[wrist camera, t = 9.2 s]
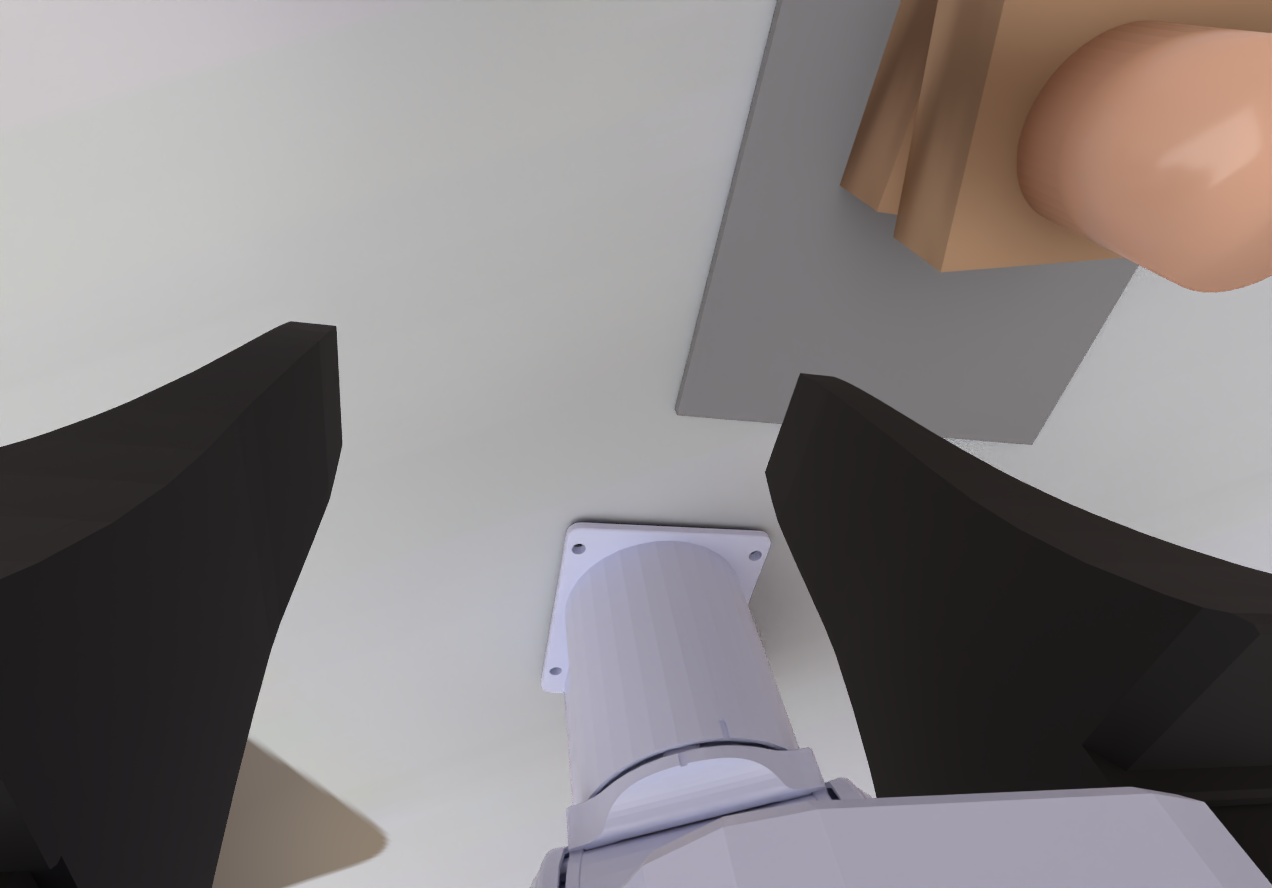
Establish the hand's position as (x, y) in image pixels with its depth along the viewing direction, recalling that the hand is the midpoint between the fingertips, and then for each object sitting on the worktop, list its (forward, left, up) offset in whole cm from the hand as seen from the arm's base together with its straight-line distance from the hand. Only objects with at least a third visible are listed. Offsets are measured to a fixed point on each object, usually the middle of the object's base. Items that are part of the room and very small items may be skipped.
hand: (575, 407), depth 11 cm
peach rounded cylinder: (+5, -11, -5) cm, 13 cm away
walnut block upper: (+5, -11, -8) cm, 14 cm away
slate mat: (+2, -12, -10) cm, 16 cm away
